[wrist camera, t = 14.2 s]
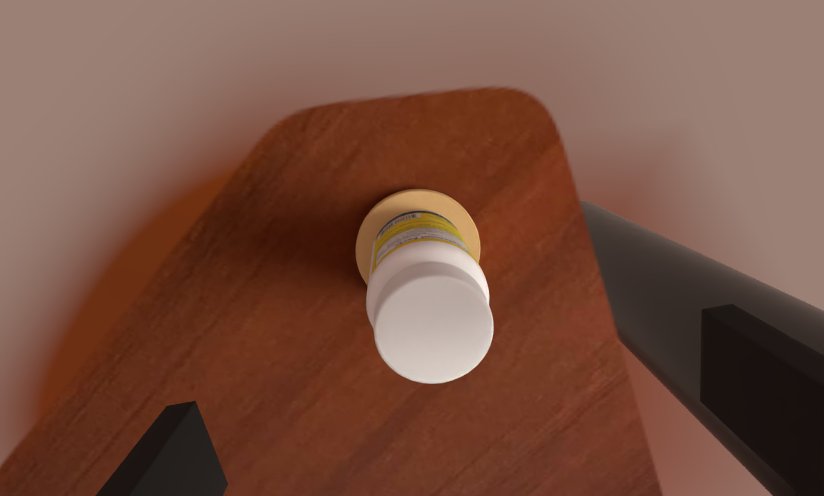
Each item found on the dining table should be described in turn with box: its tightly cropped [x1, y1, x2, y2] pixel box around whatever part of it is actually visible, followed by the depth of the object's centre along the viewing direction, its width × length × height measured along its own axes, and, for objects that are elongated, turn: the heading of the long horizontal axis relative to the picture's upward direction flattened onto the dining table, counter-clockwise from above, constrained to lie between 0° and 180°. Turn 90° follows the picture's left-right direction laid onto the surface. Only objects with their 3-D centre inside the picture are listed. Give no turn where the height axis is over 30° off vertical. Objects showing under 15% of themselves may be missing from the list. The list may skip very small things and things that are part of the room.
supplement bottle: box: [366, 210, 494, 384], centre depth 18 cm, size 5×5×8 cm
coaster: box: [356, 189, 480, 285], centre depth 22 cm, size 6×6×1 cm
